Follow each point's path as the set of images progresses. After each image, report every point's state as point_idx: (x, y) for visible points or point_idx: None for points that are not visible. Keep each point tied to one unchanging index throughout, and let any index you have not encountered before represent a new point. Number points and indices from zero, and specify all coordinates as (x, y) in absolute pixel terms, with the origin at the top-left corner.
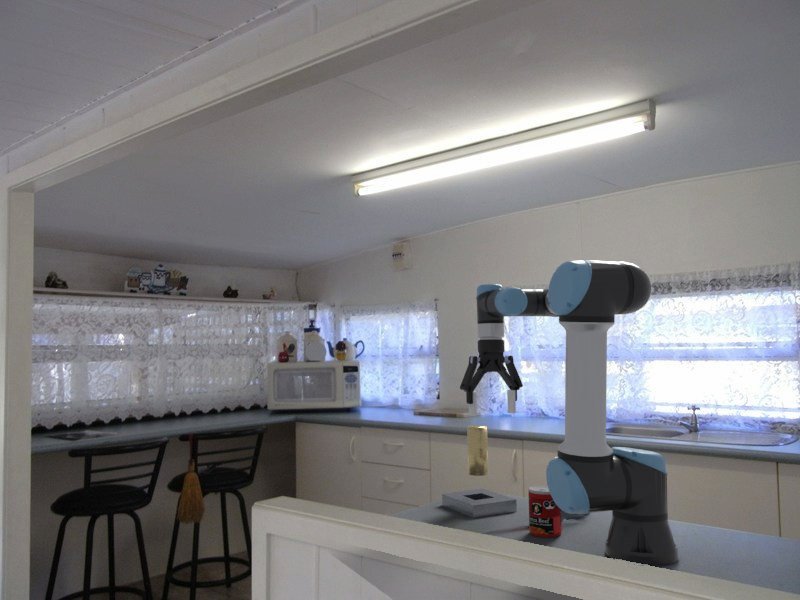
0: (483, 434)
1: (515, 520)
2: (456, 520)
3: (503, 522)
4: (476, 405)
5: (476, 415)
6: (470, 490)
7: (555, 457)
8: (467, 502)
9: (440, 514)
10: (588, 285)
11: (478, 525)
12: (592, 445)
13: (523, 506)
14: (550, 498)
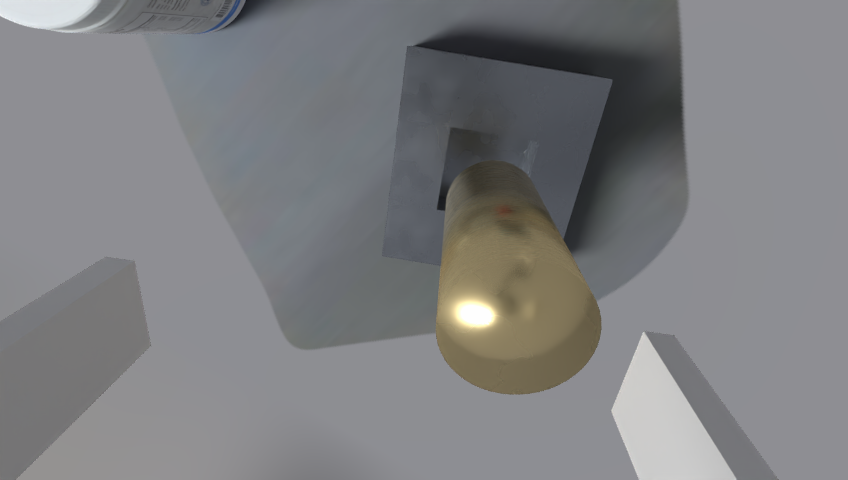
0: (524, 236)
1: (457, 4)
2: (607, 137)
3: (511, 11)
4: (704, 425)
5: (649, 336)
6: (437, 261)
7: (82, 5)
8: (589, 131)
9: (584, 224)
10: None
11: (607, 38)
12: None
13: (300, 134)
14: None
